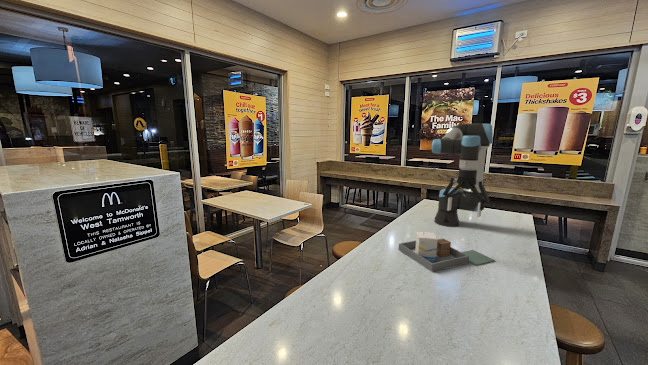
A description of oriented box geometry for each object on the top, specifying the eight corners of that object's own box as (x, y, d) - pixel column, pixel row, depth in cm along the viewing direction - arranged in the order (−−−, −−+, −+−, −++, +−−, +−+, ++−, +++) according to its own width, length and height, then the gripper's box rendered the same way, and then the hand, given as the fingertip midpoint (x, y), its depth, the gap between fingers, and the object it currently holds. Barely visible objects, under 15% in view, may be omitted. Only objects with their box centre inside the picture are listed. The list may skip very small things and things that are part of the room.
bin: (398, 249, 139) (398, 243, 139) (431, 243, 147) (431, 237, 147) (431, 271, 118) (432, 264, 117) (468, 263, 126) (469, 256, 125)
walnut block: (432, 253, 136) (433, 240, 135) (441, 251, 138) (443, 238, 137) (440, 257, 131) (441, 244, 130) (449, 255, 134) (450, 242, 132)
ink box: (436, 262, 126) (438, 239, 124) (417, 260, 128) (418, 237, 126) (432, 254, 134) (434, 232, 132) (414, 253, 136) (416, 231, 134)
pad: (455, 254, 134) (455, 253, 134) (472, 250, 138) (472, 249, 138) (476, 265, 123) (476, 264, 123) (494, 261, 127) (494, 260, 127)
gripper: (437, 167, 132) (434, 209, 136) (495, 172, 114) (489, 221, 118) (444, 166, 137) (441, 206, 141) (501, 171, 119) (495, 217, 122)
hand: (463, 213), depth 129 cm, fingers open, 13 cm apart
